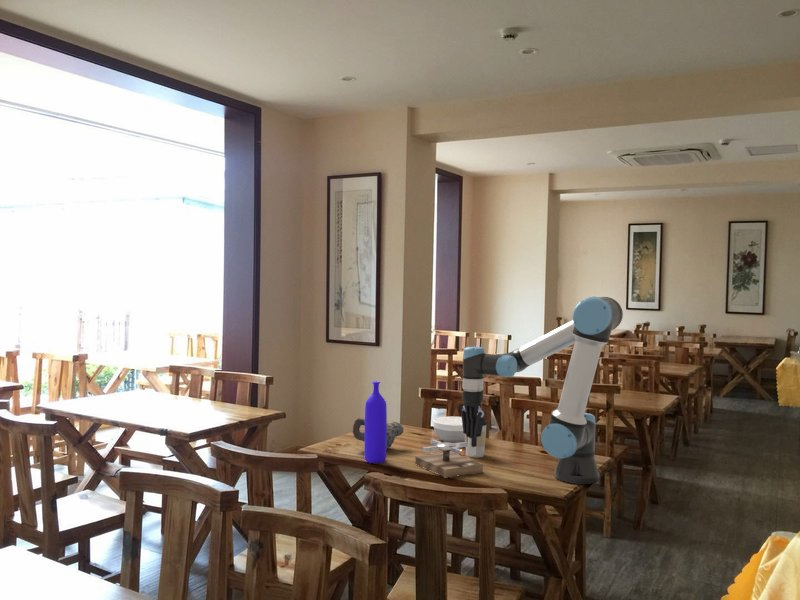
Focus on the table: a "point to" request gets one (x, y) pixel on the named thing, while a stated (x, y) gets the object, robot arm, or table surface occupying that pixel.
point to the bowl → (449, 429)
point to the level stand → (449, 464)
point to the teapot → (392, 431)
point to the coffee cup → (479, 442)
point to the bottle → (375, 427)
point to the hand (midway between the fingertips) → (471, 455)
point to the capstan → (446, 447)
